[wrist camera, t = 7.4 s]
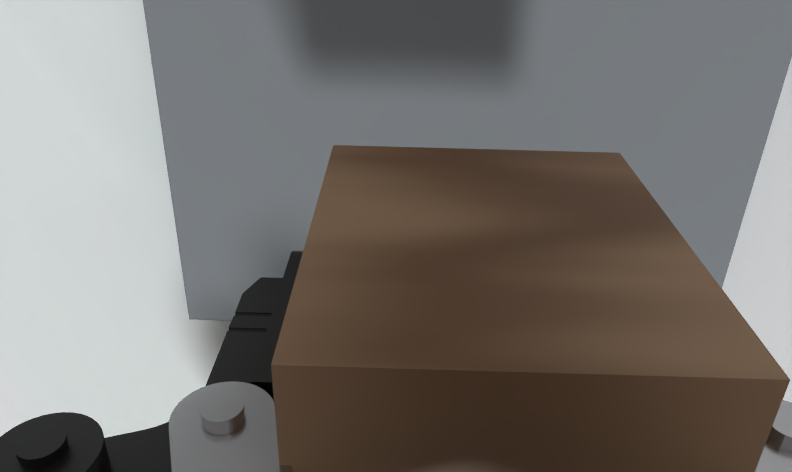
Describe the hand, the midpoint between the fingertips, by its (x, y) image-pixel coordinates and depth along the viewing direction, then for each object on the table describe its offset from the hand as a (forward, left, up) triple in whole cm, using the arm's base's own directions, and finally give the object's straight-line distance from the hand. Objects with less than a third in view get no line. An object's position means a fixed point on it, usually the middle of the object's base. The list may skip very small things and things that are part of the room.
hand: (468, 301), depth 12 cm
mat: (0, 0, -6) cm, 6 cm away
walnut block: (0, 0, -1) cm, 1 cm away
